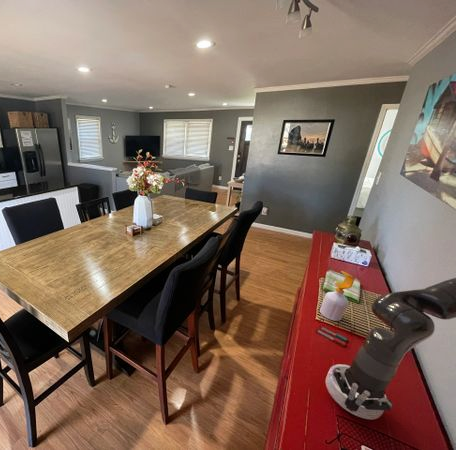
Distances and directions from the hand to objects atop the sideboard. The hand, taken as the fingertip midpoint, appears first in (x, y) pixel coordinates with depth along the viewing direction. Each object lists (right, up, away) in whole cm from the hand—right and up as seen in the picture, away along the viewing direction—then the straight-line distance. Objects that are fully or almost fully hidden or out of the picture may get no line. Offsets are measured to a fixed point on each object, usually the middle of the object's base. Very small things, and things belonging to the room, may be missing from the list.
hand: (349, 407), depth 68 cm
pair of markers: (+22, +2, +37) cm, 43 cm away
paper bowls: (+10, -7, +13) cm, 18 cm away
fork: (+24, +3, +39) cm, 46 cm away
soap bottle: (+31, +7, +50) cm, 60 cm away
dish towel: (+53, +16, +72) cm, 91 cm away
